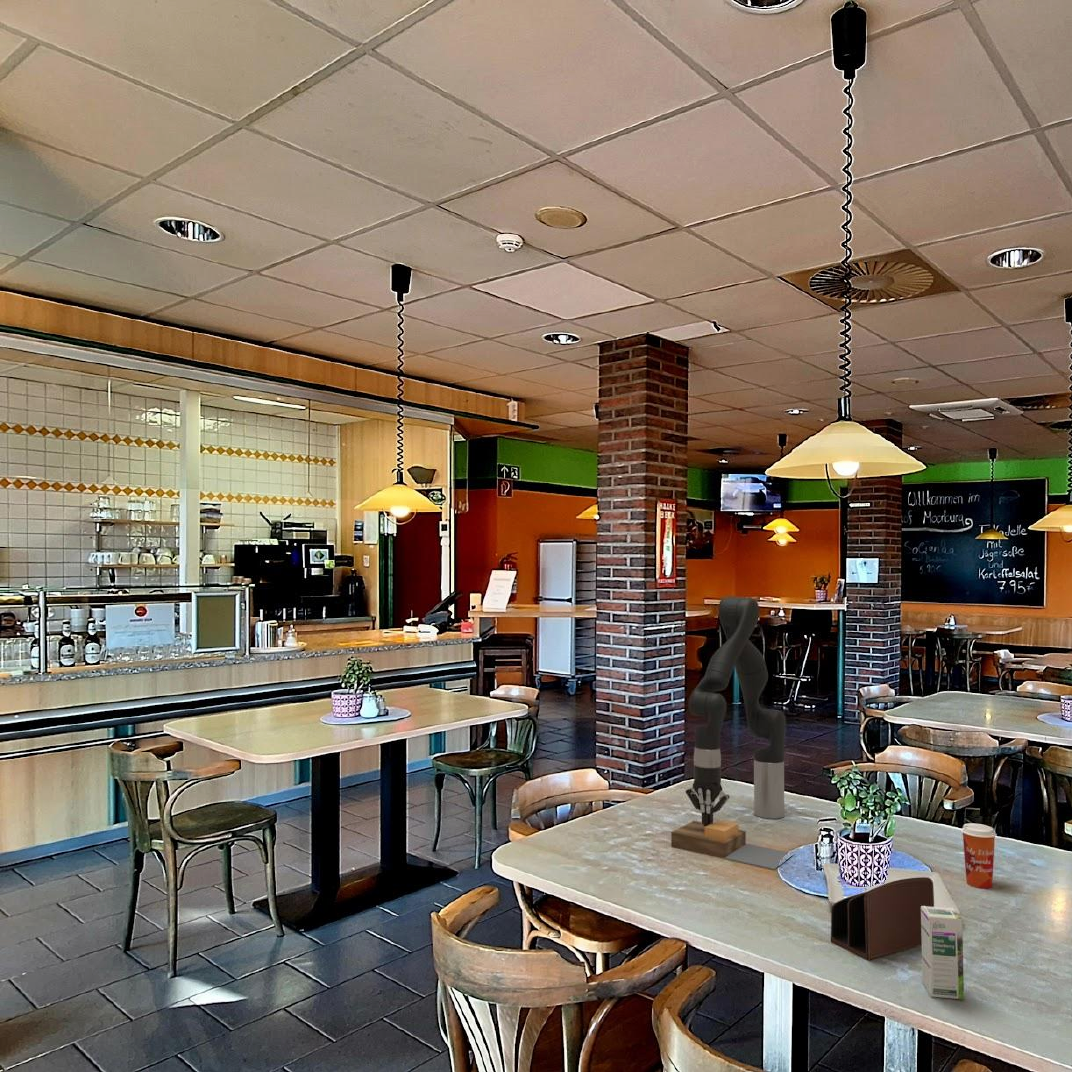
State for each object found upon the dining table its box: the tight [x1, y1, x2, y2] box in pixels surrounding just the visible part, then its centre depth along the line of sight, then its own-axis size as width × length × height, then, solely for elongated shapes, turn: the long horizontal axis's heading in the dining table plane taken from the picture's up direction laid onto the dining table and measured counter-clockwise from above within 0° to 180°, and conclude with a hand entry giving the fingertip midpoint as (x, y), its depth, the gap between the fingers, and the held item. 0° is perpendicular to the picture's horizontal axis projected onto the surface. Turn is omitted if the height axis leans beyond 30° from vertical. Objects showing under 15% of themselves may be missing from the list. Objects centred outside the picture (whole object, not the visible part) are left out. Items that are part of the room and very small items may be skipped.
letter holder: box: [830, 877, 934, 961], centre depth 177 cm, size 10×20×14 cm, turn 117°
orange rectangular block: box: [705, 819, 740, 841], centre depth 235 cm, size 9×6×2 cm, turn 143°
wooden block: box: [670, 820, 747, 859], centre depth 237 cm, size 14×16×4 cm
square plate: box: [822, 863, 961, 916], centre depth 200 cm, size 27×27×4 cm
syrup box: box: [921, 906, 965, 1001], centre depth 156 cm, size 6×6×14 cm
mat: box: [723, 843, 790, 871], centre depth 228 cm, size 15×14×1 cm
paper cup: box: [961, 822, 998, 890], centre depth 210 cm, size 8×8×14 cm
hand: (707, 825), depth 238 cm, fingers closed
